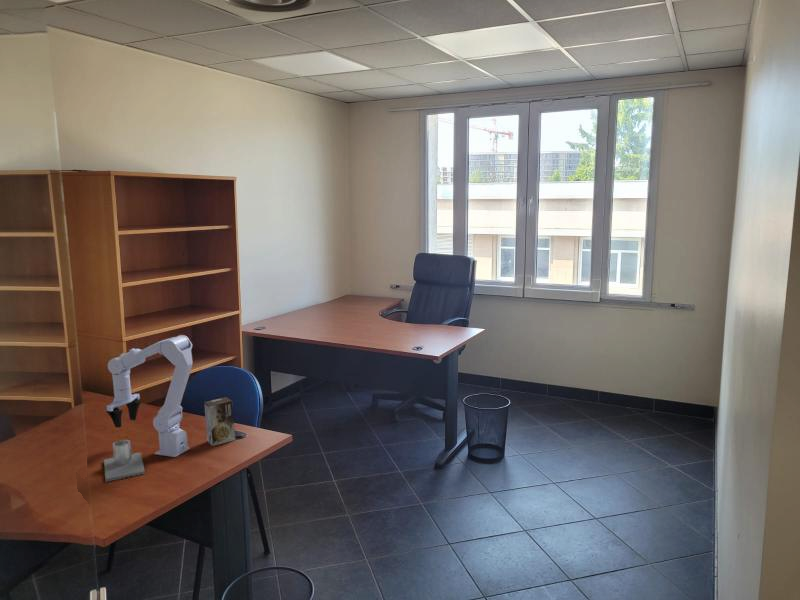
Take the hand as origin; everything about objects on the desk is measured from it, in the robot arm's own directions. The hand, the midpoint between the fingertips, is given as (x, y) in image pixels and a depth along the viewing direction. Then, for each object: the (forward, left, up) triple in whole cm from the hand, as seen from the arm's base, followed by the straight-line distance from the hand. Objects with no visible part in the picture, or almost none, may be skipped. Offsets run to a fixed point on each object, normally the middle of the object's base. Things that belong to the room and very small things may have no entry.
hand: (125, 423), depth 218 cm
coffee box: (-30, -16, -10) cm, 35 cm away
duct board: (-12, +14, -10) cm, 21 cm away
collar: (-10, +12, -9) cm, 18 cm away
